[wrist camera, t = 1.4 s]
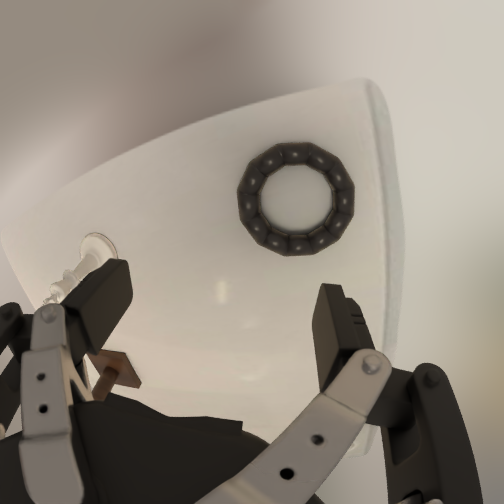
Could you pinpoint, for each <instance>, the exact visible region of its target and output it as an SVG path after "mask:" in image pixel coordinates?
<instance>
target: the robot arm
mask: <svg viewBox="0 0 504 504" xmlns="http://www.w3.org/2000/svg"><path fill="white" fill-rule="evenodd" d="M132 298H133V289H132V284H131V278H130V271H129V265H128V262H127V261H126V260H122V259H114V258H109V259H108V260H107V261H106V262H105V263H104V264H103V265H102V266H101V267H100V268H97V269H95V270H94V271H92V272H90V273H89V274H88V275H87V276H86V277H85V278H84V279H83V281H81V282H80V283H79V284H78V285H77V286H76V287H75V288H74V289H73V290H72V291H71V292H70V293H69V294H68V295H67V296H66V297H65V298H64V299H63V300H62V302H61V303H60V304H57V303H49V304H46V305H43V306H42V307H40V308H39V309H38V310H37V311H36V312H35V313H34V314H23V312H22V310H21V308H20V306H19V304H18V303H15V302H10V303H7V304H5V305H3V306H1V307H0V355H1V353H2V352H3V350H4V349H5V348H6V346H7V345H8V346H9V348H10V350H11V351H12V353H13V355H14V356H13V358H12V359H11V360H10V362H9V364H8V365H7V366H6V368H5V369H4V371H3V372H2V374H1V375H0V504H324V503H323V502H322V501H321V499H320V498H319V497H318V496H317V495H316V494H315V492H316V491H317V489H318V488H319V487H320V486H321V484H322V483H323V482H324V481H325V480H326V478H327V477H328V476H329V474H330V473H331V472H332V471H333V469H334V468H335V467H336V465H337V464H338V463H339V461H340V460H341V459H342V457H343V456H344V454H345V453H346V452H347V450H348V449H349V447H350V446H351V444H352V443H353V441H354V440H355V438H356V437H357V435H358V434H359V432H360V431H361V429H362V427H363V426H364V424H365V423H367V424H372V425H376V426H380V428H381V435H382V442H383V449H384V458H385V467H386V477H387V489H388V504H483V499H482V493H481V487H480V483H479V477H478V472H477V468H476V463H475V459H474V455H473V451H472V448H471V445H470V440H469V437H468V434H467V430H466V427H465V424H464V421H463V418H462V415H461V412H460V409H459V406H458V403H457V401H456V398H455V395H454V393H453V390H452V387H451V385H450V383H449V380H448V378H447V375H446V374H445V372H444V371H443V370H442V369H441V368H440V367H438V366H436V365H434V364H431V363H422V364H420V365H418V366H417V367H416V369H415V370H414V372H409V371H405V370H400V369H396V368H393V367H392V366H391V363H390V361H389V359H388V358H387V357H386V356H385V355H384V354H382V353H381V352H379V351H376V350H375V347H374V344H373V341H372V338H371V335H370V333H369V330H368V327H367V325H366V322H365V319H364V317H363V314H362V311H361V309H360V306H359V305H358V304H357V303H356V302H355V301H354V300H353V299H352V298H345V295H344V292H343V289H342V287H341V285H337V284H326V283H322V284H321V286H320V290H319V294H318V298H317V302H316V306H315V310H314V313H313V319H312V332H313V339H314V347H315V354H316V362H317V371H318V379H319V388H320V393H319V394H318V395H317V396H316V397H315V398H314V399H313V400H312V401H311V402H310V403H309V405H308V406H307V407H306V408H305V409H304V410H303V411H302V412H301V413H300V415H299V416H298V417H297V418H296V419H295V420H294V421H293V422H292V423H291V424H290V425H289V426H288V427H287V428H286V429H285V430H284V431H283V432H282V433H281V434H280V435H279V436H278V437H277V438H276V439H275V440H274V441H273V442H272V443H271V444H269V443H267V442H266V441H265V440H263V439H261V438H259V437H258V436H255V435H253V434H251V433H249V432H246V431H243V430H242V425H243V421H236V420H228V419H221V418H214V417H208V416H203V417H169V416H166V415H163V414H161V413H159V412H157V411H156V410H154V409H152V408H150V407H148V406H146V405H144V404H142V403H141V402H139V401H137V400H133V399H130V398H126V397H123V396H120V395H117V394H114V393H111V392H108V394H107V396H106V398H105V400H94V399H93V396H92V392H91V388H90V383H89V378H88V373H87V367H86V362H85V359H84V355H85V354H86V353H89V354H92V355H95V356H97V355H98V353H99V351H100V350H101V348H102V347H103V345H104V344H105V342H106V340H107V339H108V337H109V336H110V334H111V333H112V331H113V330H114V328H115V327H116V325H117V324H118V322H119V321H120V319H121V318H122V316H123V315H124V313H125V312H126V310H127V309H128V307H129V306H130V304H131V302H132ZM20 404H21V418H22V429H23V430H22V431H20V432H18V433H15V434H13V435H11V436H9V437H5V433H6V431H7V429H8V427H9V425H10V423H11V421H12V419H13V417H14V415H15V413H16V411H17V409H18V407H19V405H20Z"/></svg>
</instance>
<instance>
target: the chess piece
mask: <svg viewBox="0 0 504 504" xmlns="http://www.w3.org/2000/svg"><path fill="white" fill-rule="evenodd" d="M80 255H81V259H82V261H81V262H80V264H79V265H78V266H77V267H76V269H75V270H74V271H73V272H72V271H71V270H66V271H65V272H64V273H63V280H61V281H59V282H55V283H53V284H51V286H50V293H51V295H52V296H51V297H50V298H46V299H45V300H44V301H43V302H44V304H43V305H46V304H49V303H57V302H60V303H61V302H62V300H63V299H64V298H65V297H66V296H67V295H68V294H69V292H70V289H72V290H73V289H74V288H75V287H76V286H77V285H78V284H79V283H80V281H79V279H80V278H82V277H83V276H84V275H86V274H87V273H89V272H90V271H91V272H92V271H94V270H95V269H97V268H100V267H101V266H102V265H103V264H104V263H105V262H106V261H107V260H108V259H109V258H114V259H117V253H116V250H115V248H114V246H113V245H112V243H111V242H110V241H109V240H108V239H107V238H106V237H104V236H103V235H100V234H97V233H92V234H89V235H87V236H86V237H85V238H84V239H83V241H82V242H81V245H80Z"/></svg>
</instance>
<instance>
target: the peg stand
mask: <svg viewBox="0 0 504 504" xmlns="http://www.w3.org/2000/svg"><path fill="white" fill-rule="evenodd" d="M86 354H87V355H88V357H89V359H90V360H91V362H92V364H93V365H94V367H95V368H96V370H97V371H98V373H99V375H100V378H99V379H98V381H97V383H96V385H95V387H94V388H93V390H92V396H93V399H94V400H105V398H106V396H107V394H108V392H111V390H112V388H113V386H114V384H117V385H122V386H127V387H133V388H138V389H139V387H140V385H141V382H140V380H139V378H138V377H137V375H136V373H135V371H134V370H133V368H132V366H131V364H130V362H129V360H128V359H127V357H126V355H125V353H120V352H113V351H107V350H100V351H99V353H98V355H97V356H95V355H92V354H89V353H86Z"/></svg>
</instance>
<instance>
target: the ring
mask: <svg viewBox="0 0 504 504" xmlns="http://www.w3.org/2000/svg"><path fill="white" fill-rule="evenodd" d="M294 165H307V166H309V167H310V168H312V169H314V170H316V171H318V172H320V173H322V174H323V175H324V176H325V178H326V180H327V181H328V183H329V185H330V186H331V188H332V190H333V210H332V212H331V213H330V215H329V217H328V218H327V220H326V222H325V224H324V225H323V226H321V227H319V228H318V229H316V230H314V231H313V232H311V233H309V234H306V235H287V234H285V233H283V232H280V231H278V230H276V229H274V228H272V227H271V226H270V224H269V223H268V221H267V220H266V219H265V217H264V216H263V214H262V213H261V205H260V192H261V190H262V188H263V186H264V184H265V182H266V180H267V178H268V177H269V176H270V175H272V174H273V173H275V172H276V171H278V170H280V169H281V168H283V167H284V166H294ZM237 198H238V207H239V216H240V220H241V222H242V224H243V225H244V226H245V228H246V229H247V230H248V232H249V233H250V234H251V236H252V237H253V238H254V240H255V241H256V242H257V243H258V244H259V245H260V246H263V247H265V248H267V249H269V250H271V251H274V252H276V253H278V254H280V255H282V256H305V255H314V254H316V253H318V252H320V251H321V250H323V249H325V248H327V247H328V246H330V245H332V244H334V243H335V242H337V241H338V240H339V239H340V238H341V236H342V234H343V233H344V231H345V229H346V228H347V226H348V225H349V223H350V221H351V220H352V218H353V216H354V198H355V187H354V183H353V181H352V180H351V178H350V176H349V174H348V173H347V171H346V169H345V167H344V166H343V164H342V162H341V161H340V159H339V158H338V157H336V156H334V155H333V154H331V153H329V152H327V151H326V150H324V149H322V148H320V147H318V146H316V145H314V144H312V143H308V142H306V143H281V144H276V145H275V146H273V147H271V148H270V149H268V150H267V151H265V152H264V153H262V154H261V155H259V156H258V157H256V158H255V159H253V160H252V161H251V162H250V163H249V165H248V167H247V169H246V171H245V173H244V176H243V178H242V180H241V182H240V184H239V186H238V189H237Z"/></svg>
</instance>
